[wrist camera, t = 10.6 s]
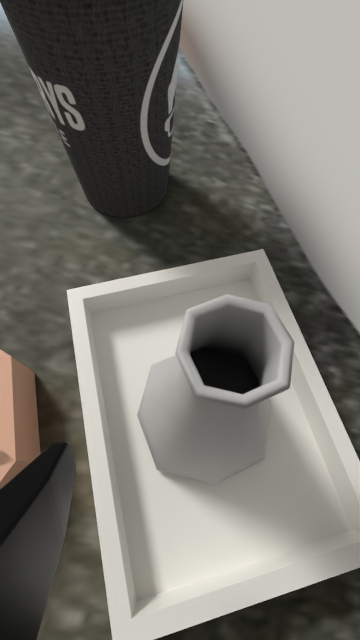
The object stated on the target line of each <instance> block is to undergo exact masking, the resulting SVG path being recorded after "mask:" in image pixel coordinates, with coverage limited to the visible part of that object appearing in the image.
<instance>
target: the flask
mask: <svg viewBox="0 0 360 640" xmlns="http://www.w3.org/2000/svg"><path fill="white" fill-rule="evenodd" d="M293 352H294V340H293V339H292V337H291V335H290V334H289V332H288V331H287V329H286V327H285V326H284V324H283V322H282V321H281V319H280V318H279V316H278V314H277V313H276V311H275V310H274V308H273V306H272V305H271V303H266V302H262V301H257V300H252V299H248V298H243V297H238V296H234V295H229V294H226V295H223V296H220V297H218V298H215V299H213V300H210V301H207V302H205V303H202V304H199V305H197V306H194V307H191V308H189V309H186V313H185V317H184V321H183V325H182V329H181V333H180V336H179V340H178V344H177V348H176V352H175V354H176V355H175V356H172V357H170V358H167V359H165V360H162V361H160V362H157V363H155V364H153V365H151V369H150V372H149V376H148V379H147V383H146V386H145V390H144V393H143V397H142V400H141V403H140V407H139V410H138V414H137V417H138V419H139V422H140V425H141V427H142V430H143V433H144V436H145V438H146V441H147V444H148V447H149V449H150V452H151V455H152V458H153V460H154V463H155V466H156V469H157V470H159V471H163V472H167V473H171V474H174V475H178V476H182V477H186V478H189V479H193V480H197V481H201V482H204V483H208V484H212V485H214V484H216V483H218V482H220V481H222V480H224V479H226V478H228V477H230V476H232V475H234V474H236V473H239V472H241V471H243V470H245V469H247V468H249V467H251V466H253V465H255V464H257V463H259V462H261V461H263V460H264V459H265V450H266V442H267V433H268V425H269V416H270V408H271V402H270V400H269V398H271V397H273V396H275V395H277V394H279V393H282V392H284V391H286V390H288V389H289V388H290V384H291V373H292V363H293Z"/></svg>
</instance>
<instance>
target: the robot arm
mask: <svg viewBox="0 0 360 640" xmlns="http://www.w3.org/2000/svg"><path fill="white" fill-rule="evenodd" d="M75 475H76V467H75V462H74V457H73V451H72V446H71V444H70V443H69V442H56V443H53V444H51V445H50V446H49V447H48V448H47V449H45V450H44V451H43V452H42V453H41V454H40V455H39V456H37V457H36V458H35V459H34V460H33V461H32V462H31V463H30V464H28V465H27V466H26V467H25V468H24V469H23V470H22V471H20V472H19V473H18V474H17V475H16V476H15V477H14V478H12V479H11V480H10V481H9V482H8V483H7V484H6V485H5V486H3V487H2V488H1V489H0V640H37V636H38V632H39V629H40V625H41V622H42V618H43V615H44V611H45V607H46V604H47V600H48V597H49V593H50V590H51V586H52V582H53V579H54V575H55V572H56V568H57V565H58V561H59V558H60V554H61V550H62V546H63V543H64V539H65V533H66V528H67V522H68V516H69V511H70V505H71V499H72V493H73V487H74V481H75Z"/></svg>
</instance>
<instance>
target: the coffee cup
mask: <svg viewBox="0 0 360 640" xmlns="http://www.w3.org/2000/svg"><path fill="white" fill-rule="evenodd" d="M0 3H1V5H2V7H3V9H4V12H5V14H6V16H7V18H8V21H9V23H10V25H11V27H12V29H13V32H14V34H15V36H16V38H17V41H18V43H19V45H20V47H21V50H22V52H23V54H24V56H25V59H26V61H27V63H28V65H29V68H30V70H31V72H32V75H33V77H34V79H35V81H36V84H37V86H38V88H39V90H40V93H41V95H42V97H43V99H44V102H45V104H46V106H47V109H48V111H49V113H50V115H51V118H52V120H53V122H54V124H55V127H56V129H57V131H58V134H59V136H60V138H61V140H62V143H63V145H64V147H65V149H66V152H67V154H68V156H69V159H70V161H71V163H72V165H73V168H74V170H75V172H76V175H77V177H78V179H79V181H80V184H81V186H82V188H83V191H84V193H85V195H86V197H87V199H88V201H89V202H90V204H91V205H92V206H93V207H94V208H95V209H97V210H98V211H100V212H102V213H104V214H107V215H110V216H114V217H134V216H139V215H142V214H145V213H147V212H149V211H151V210H153V209H154V208H155V207H157V206H158V205H159V204H160V203H161V202H162V200H163V199H164V197H165V195H166V193H167V189H168V178H169V165H170V153H171V140H172V128H173V116H174V103H175V91H176V79H177V67H178V55H179V43H180V30H181V20H182V9H183V0H0Z"/></svg>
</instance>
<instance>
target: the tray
mask: <svg viewBox="0 0 360 640" xmlns="http://www.w3.org/2000/svg"><path fill="white" fill-rule="evenodd" d="M226 294H229V295H234V296H238V297H243V298H248V299H252V300H257V301H262V302H266V303H271V305H272V306H273V308H274V310H275V311H276V313H277V314H278V316H279V318H280V319H281V321H282V322H283V324H284V326H285V327H286V329H287V331H288V332H289V334H290V335H291V337H292V339H293V340H294V352H293V363H292V373H291V384H290V388H289V389H288V390H286V391H284V392H282V393H279V394H277V395H275V396H273V397H271V398H269V400H270V402H271V408H270V416H269V425H268V433H267V442H266V450H265V459H264V460H263V461H261V462H259V463H257V464H255V465H253V466H251V467H249V468H247V469H245V470H243V471H241V472H239V473H236V474H234V475H232V476H230V477H228V478H226V479H224V480H222V481H220V482H218V483H216V484H214V485H212V484H208V483H204V482H201V481H197V480H193V479H189V478H186V477H182V476H178V475H174V474H171V473H167V472H163V471H159V470H157V469H156V466H155V463H154V460H153V458H152V455H151V452H150V449H149V447H148V444H147V441H146V438H145V436H144V433H143V430H142V427H141V425H140V422H139V419H138V417H137V414H138V410H139V407H140V403H141V400H142V397H143V393H144V390H145V386H146V383H147V379H148V376H149V372H150V369H151V365H153V364H155V363H157V362H160V361H162V360H165V359H167V358H170V357H172V356H175V355H176V354H175V352H176V348H177V344H178V340H179V336H180V333H181V329H182V325H183V321H184V317H185V313H186V309H189V308H191V307H194V306H197V305H199V304H202V303H205V302H207V301H210V300H213V299H215V298H218V297H220V296H223V295H226ZM67 296H68V304H69V311H70V319H71V326H72V334H73V342H74V349H75V357H76V365H77V372H78V380H79V387H80V395H81V403H82V410H83V418H84V425H85V433H86V441H87V448H88V456H89V464H90V471H91V479H92V486H93V494H94V502H95V509H96V517H97V525H98V532H99V540H100V547H101V555H102V563H103V570H104V578H105V585H106V593H107V601H108V608H109V616H110V624H111V631H112V639H113V640H154V639H157V638H160V637H163V636H166V635H168V634H171V633H174V632H177V631H180V630H183V629H186V628H188V627H191V626H194V625H197V624H200V623H203V622H206V621H208V620H211V619H214V618H217V617H220V616H223V615H226V614H228V613H231V612H234V611H237V610H240V609H243V608H246V607H248V606H251V605H254V604H257V603H260V602H263V601H266V600H268V599H271V598H274V597H277V596H280V595H283V594H286V593H288V592H291V591H294V590H297V589H300V588H303V587H306V586H308V585H311V584H314V583H317V582H320V581H323V580H326V579H328V578H331V577H334V576H337V575H340V574H343V573H346V572H348V571H351V570H354V569H357V568H360V461H359V459H358V457H357V454H356V452H355V450H354V448H353V445H352V443H351V441H350V439H349V437H348V434H347V432H346V430H345V428H344V426H343V423H342V421H341V419H340V417H339V415H338V412H337V410H336V408H335V406H334V404H333V401H332V399H331V397H330V395H329V393H328V390H327V388H326V386H325V384H324V382H323V379H322V377H321V375H320V373H319V370H318V368H317V366H316V364H315V362H314V359H313V357H312V355H311V353H310V351H309V348H308V346H307V344H306V342H305V340H304V337H303V335H302V333H301V331H300V329H299V326H298V324H297V322H296V320H295V318H294V315H293V313H292V311H291V309H290V307H289V304H288V302H287V300H286V298H285V295H284V293H283V291H282V289H281V287H280V284H279V282H278V280H277V278H276V276H275V273H274V271H273V269H272V267H271V265H270V262H269V260H268V258H267V256H266V254H265V251H264V249H261V250H256V251H251V252H246V253H242V254H237V255H232V256H227V257H222V258H218V259H213V260H208V261H203V262H199V263H194V264H189V265H184V266H179V267H175V268H170V269H165V270H160V271H156V272H151V273H146V274H141V275H136V276H132V277H127V278H122V279H117V280H112V281H108V282H103V283H98V284H93V285H89V286H84V287H79V288H74V289H69V290H67Z"/></svg>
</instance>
